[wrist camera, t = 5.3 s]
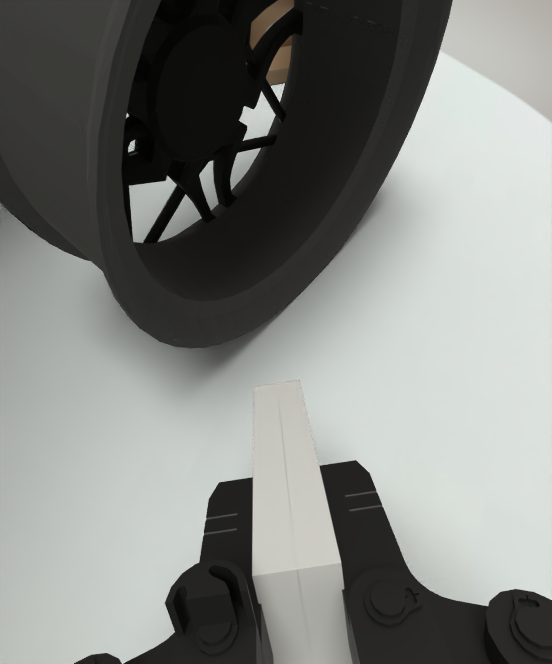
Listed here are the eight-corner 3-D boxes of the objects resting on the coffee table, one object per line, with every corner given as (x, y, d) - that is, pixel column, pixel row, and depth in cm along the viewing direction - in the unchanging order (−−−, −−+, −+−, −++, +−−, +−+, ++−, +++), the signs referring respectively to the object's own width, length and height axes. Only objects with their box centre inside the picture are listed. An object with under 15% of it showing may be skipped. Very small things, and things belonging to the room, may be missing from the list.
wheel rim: (302, 138, 31) (297, -384, 13) (398, 191, 28) (569, -385, 10) (106, 309, 26) (-371, -168, 8) (201, 397, 23) (-208, -34, 5)
